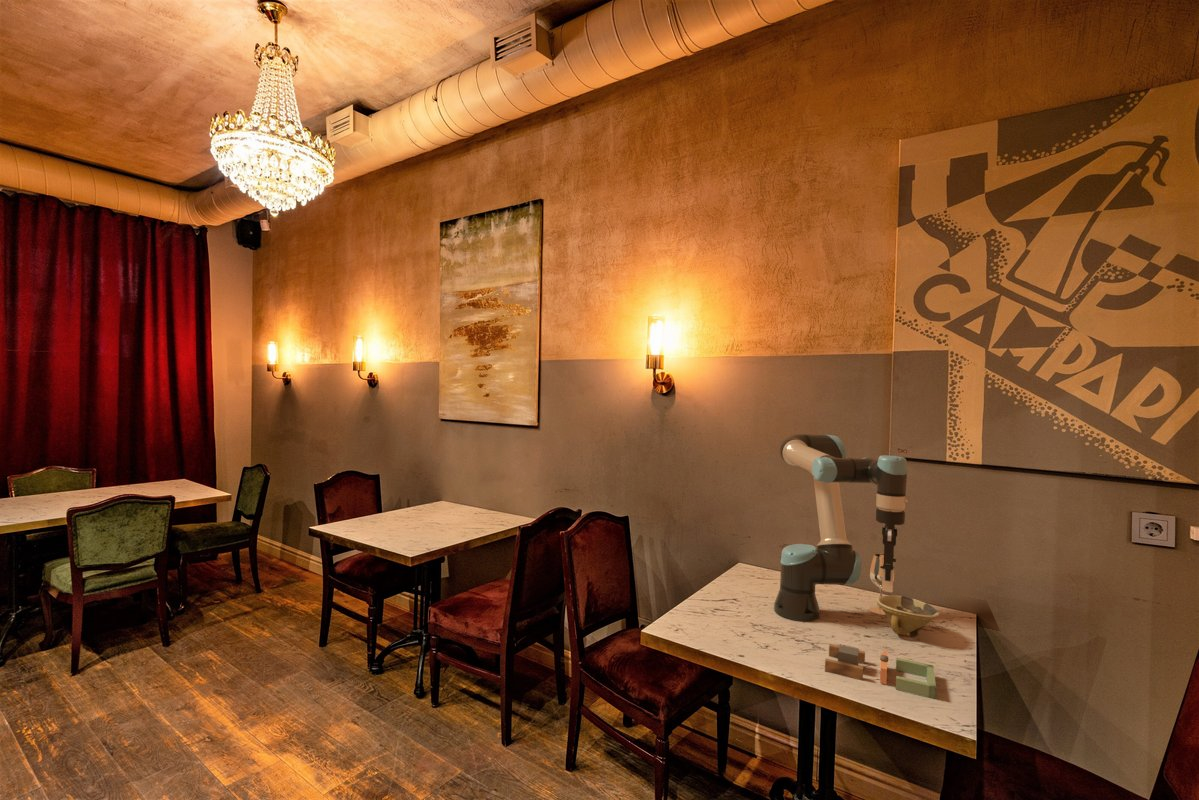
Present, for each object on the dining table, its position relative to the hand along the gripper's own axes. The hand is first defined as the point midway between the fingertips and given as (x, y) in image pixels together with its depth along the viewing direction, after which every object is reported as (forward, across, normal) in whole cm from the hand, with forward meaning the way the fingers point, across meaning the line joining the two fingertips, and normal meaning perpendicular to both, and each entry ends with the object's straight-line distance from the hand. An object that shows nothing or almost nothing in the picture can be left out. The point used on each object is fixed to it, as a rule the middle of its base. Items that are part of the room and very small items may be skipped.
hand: (887, 587), depth 167 cm
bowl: (+21, +24, -6) cm, 33 cm away
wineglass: (+21, +40, +2) cm, 46 cm away
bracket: (+21, -12, -8) cm, 25 cm away
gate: (+21, -12, 0) cm, 24 cm away
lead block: (+21, -12, +9) cm, 26 cm away
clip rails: (+21, -12, +10) cm, 26 cm away
